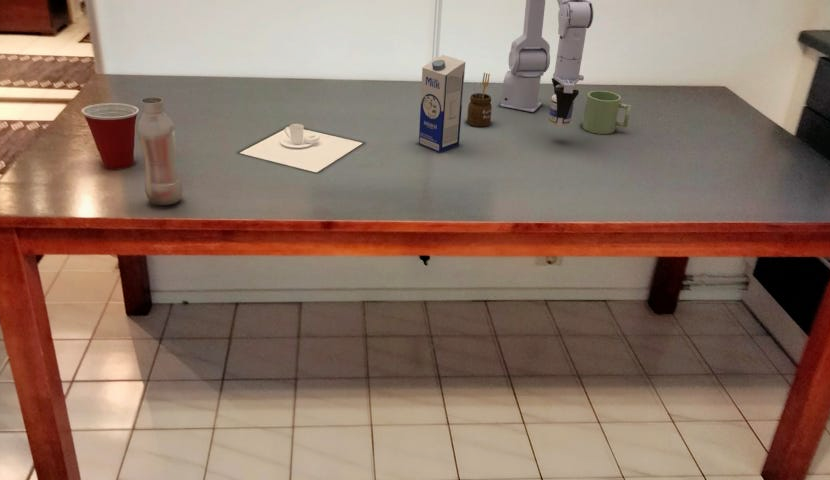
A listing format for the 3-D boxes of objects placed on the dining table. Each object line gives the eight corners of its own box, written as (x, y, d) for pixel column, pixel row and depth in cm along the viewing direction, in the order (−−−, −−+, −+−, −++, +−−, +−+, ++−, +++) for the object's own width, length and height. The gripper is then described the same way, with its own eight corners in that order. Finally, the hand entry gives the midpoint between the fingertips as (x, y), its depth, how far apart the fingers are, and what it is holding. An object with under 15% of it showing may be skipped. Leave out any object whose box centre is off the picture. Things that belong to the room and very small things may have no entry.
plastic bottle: (151, 194, 148) (136, 94, 137) (187, 194, 149) (174, 95, 138) (143, 209, 142) (127, 105, 132) (180, 209, 143) (167, 106, 133)
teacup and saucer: (324, 141, 176) (324, 124, 174) (305, 152, 170) (305, 135, 167) (292, 134, 179) (291, 117, 177) (272, 144, 173) (271, 127, 170)
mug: (579, 130, 192) (584, 97, 188) (586, 120, 199) (591, 88, 194) (622, 138, 189) (629, 105, 184) (628, 128, 195) (635, 96, 191)
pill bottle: (569, 120, 184) (575, 84, 180) (570, 127, 180) (576, 91, 175) (547, 118, 185) (552, 82, 180) (548, 125, 180) (553, 89, 175)
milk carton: (459, 145, 179) (466, 60, 168) (440, 152, 174) (445, 66, 164) (437, 137, 183) (442, 53, 172) (418, 143, 178) (422, 58, 168)
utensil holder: (463, 124, 191) (467, 77, 185) (471, 117, 196) (475, 71, 190) (485, 128, 189) (490, 81, 183) (493, 121, 194) (498, 74, 188)
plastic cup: (157, 159, 162) (149, 104, 156) (124, 177, 154) (114, 120, 147) (115, 150, 165) (105, 96, 159) (80, 168, 156) (68, 111, 150)
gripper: (590, 66, 167) (580, 125, 175) (583, 49, 180) (574, 104, 187) (558, 64, 168) (550, 123, 175) (553, 46, 180) (545, 102, 187)
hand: (560, 113), depth 181 cm, fingers closed on pill bottle, 5 cm apart
